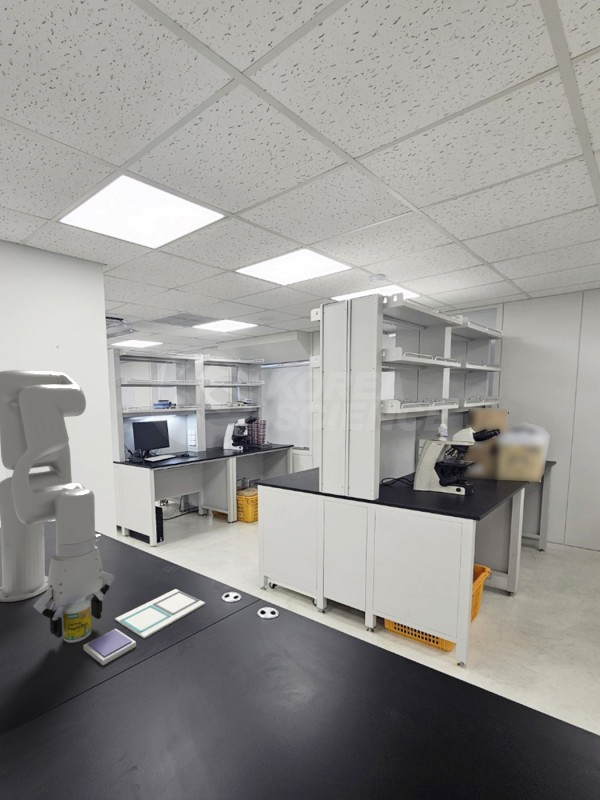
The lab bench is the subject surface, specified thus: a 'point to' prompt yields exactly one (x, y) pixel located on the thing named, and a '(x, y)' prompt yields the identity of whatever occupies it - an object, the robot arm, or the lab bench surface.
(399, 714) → the lab bench surface
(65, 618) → the supplement bottle
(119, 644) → the ink pad
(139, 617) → the print sheet
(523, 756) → the lab bench surface
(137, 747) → the lab bench surface
